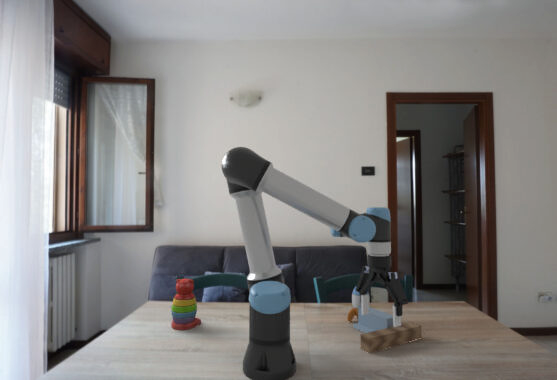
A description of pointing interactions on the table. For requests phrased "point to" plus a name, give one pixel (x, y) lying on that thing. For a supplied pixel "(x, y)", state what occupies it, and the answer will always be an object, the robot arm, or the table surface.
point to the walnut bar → (390, 337)
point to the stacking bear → (184, 306)
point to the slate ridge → (373, 320)
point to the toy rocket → (355, 305)
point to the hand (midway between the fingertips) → (380, 319)
